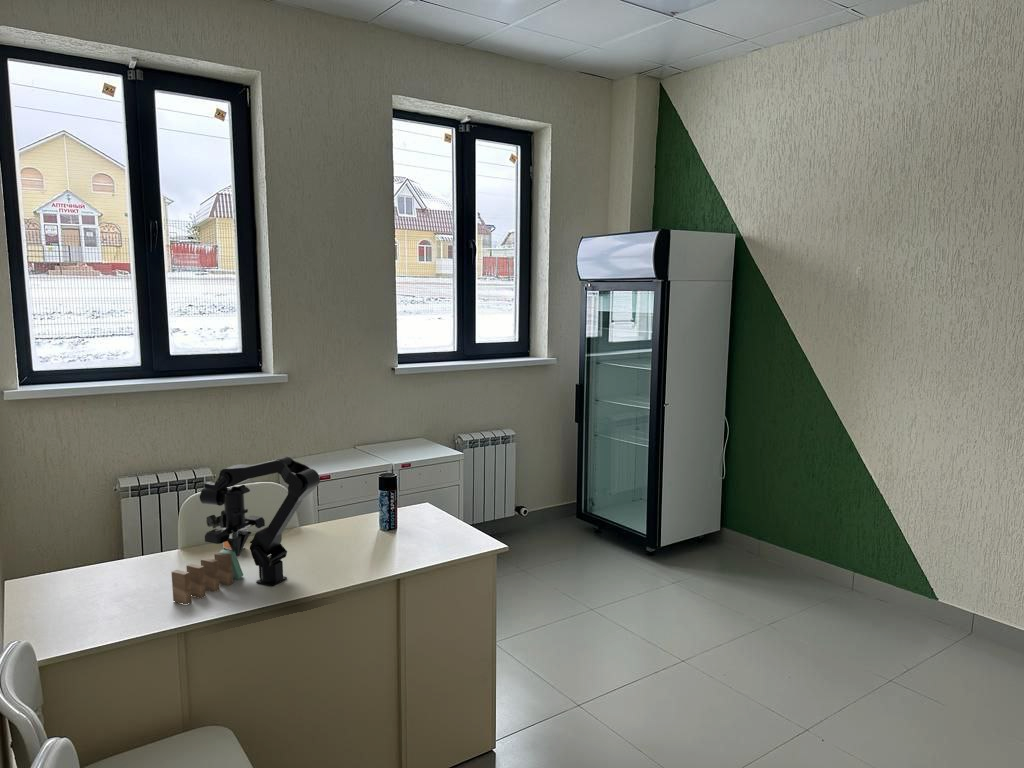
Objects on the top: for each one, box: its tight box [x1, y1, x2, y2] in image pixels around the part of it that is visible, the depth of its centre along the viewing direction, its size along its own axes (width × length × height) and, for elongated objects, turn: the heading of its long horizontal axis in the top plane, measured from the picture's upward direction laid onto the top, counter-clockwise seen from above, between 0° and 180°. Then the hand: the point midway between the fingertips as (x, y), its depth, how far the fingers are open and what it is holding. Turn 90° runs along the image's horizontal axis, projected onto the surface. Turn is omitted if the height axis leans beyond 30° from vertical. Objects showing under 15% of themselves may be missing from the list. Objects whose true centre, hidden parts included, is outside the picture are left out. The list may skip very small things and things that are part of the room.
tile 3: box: [200, 557, 221, 593], centre depth 206 cm, size 2×5×9 cm, turn 65°
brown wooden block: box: [171, 569, 192, 604], centre depth 197 cm, size 2×5×9 cm, turn 65°
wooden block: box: [213, 551, 234, 586], centre depth 211 cm, size 2×5×9 cm, turn 65°
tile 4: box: [186, 563, 207, 599], centre depth 202 cm, size 2×5×9 cm, turn 65°
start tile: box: [219, 548, 244, 580], centre depth 214 cm, size 2×5×9 cm, turn 65°
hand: (237, 556), depth 216 cm, fingers closed
